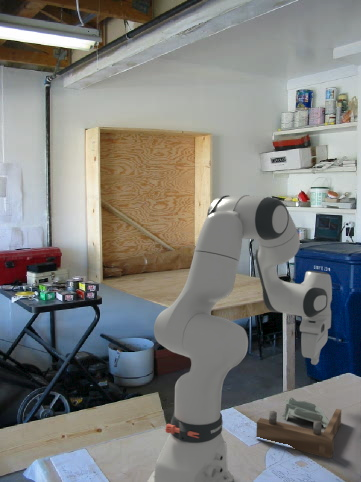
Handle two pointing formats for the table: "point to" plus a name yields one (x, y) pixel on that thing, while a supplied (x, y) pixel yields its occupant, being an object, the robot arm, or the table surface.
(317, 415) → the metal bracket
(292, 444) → the bench stop
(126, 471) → the table surface
